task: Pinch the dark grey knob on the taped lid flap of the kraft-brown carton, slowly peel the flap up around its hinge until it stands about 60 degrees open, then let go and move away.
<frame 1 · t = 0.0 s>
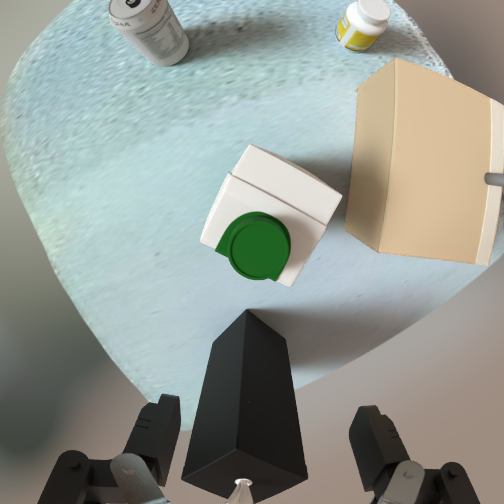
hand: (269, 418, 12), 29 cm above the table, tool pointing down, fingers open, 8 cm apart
milk carton: (264, 197, 38), on the table
energy drink can: (169, 50, 33), on the table
tall black box: (249, 340, 44), on the table
carton: (404, 166, 37), on the table
flap: (475, 168, 21), point 16 cm above the table, hinge at 0.0°
supplement bottle: (351, 38, 32), on the table
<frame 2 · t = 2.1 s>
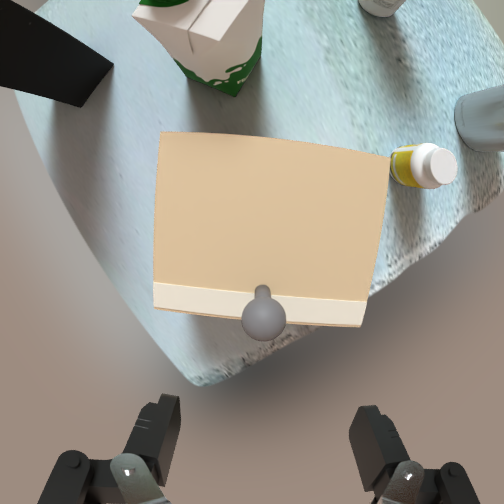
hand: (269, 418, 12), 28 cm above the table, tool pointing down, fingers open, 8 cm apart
milk carton: (223, 65, 32), on the table
energy drink can: (373, 4, 29), on the table
tall black box: (83, 75, 32), on the table
flap: (270, 243, 22), point 16 cm above the table, hinge at 0.0°
supplement bottle: (403, 165, 35), on the table
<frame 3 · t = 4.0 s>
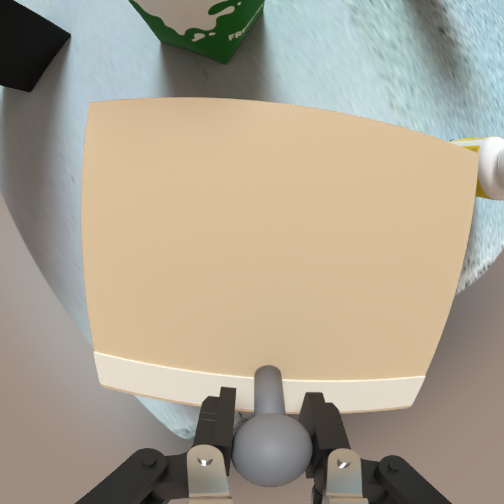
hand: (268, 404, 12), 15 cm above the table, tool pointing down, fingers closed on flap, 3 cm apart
milk carton: (211, 24, 21), on the table
tall black box: (36, 52, 21), on the table
flap: (288, 318, 10), point 16 cm above the table, hinge at 0.0°, touching gripper
supplement bottle: (453, 166, 24), on the table
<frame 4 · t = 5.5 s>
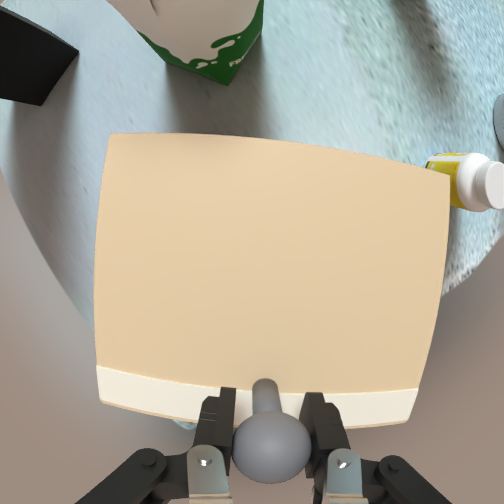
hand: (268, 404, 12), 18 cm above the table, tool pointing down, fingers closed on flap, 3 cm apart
milk carton: (213, 46, 24), on the table
tall black box: (45, 67, 23), on the table
flap: (283, 317, 12), point 17 cm above the table, hinge at 11.8°, touching gripper
supplement bottle: (438, 177, 27), on the table
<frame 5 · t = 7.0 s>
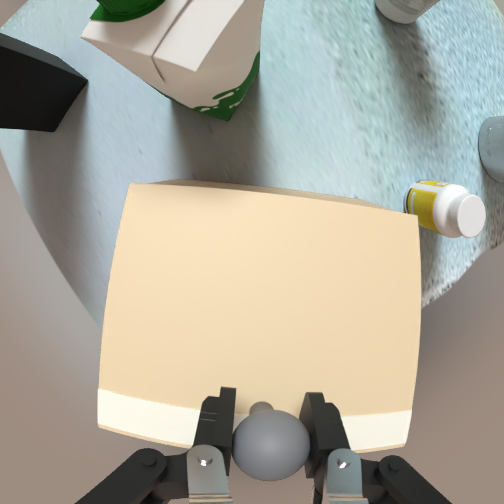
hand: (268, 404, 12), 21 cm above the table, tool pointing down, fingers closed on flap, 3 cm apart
milk carton: (214, 81, 28), on the table
energy drink can: (392, 8, 24), on the table
tall black box: (56, 93, 27), on the table
carton: (262, 260, 33), on the table
flap: (277, 326, 13), point 19 cm above the table, hinge at 30.1°, touching gripper
supplement bottle: (421, 201, 31), on the table
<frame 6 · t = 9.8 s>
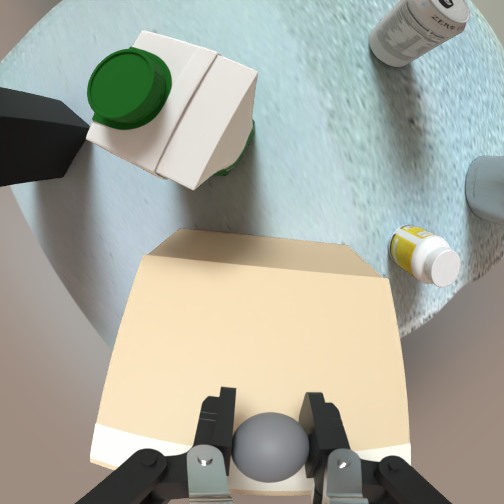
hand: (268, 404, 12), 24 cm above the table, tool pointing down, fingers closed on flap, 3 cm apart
milk carton: (212, 135, 32), on the table
energy drink can: (387, 49, 28), on the table
tall black box: (62, 138, 32), on the table
carton: (257, 299, 37), on the table
flap: (270, 354, 15), point 21 cm above the table, hinge at 55.3°, touching gripper
supplement bottle: (404, 243, 35), on the table
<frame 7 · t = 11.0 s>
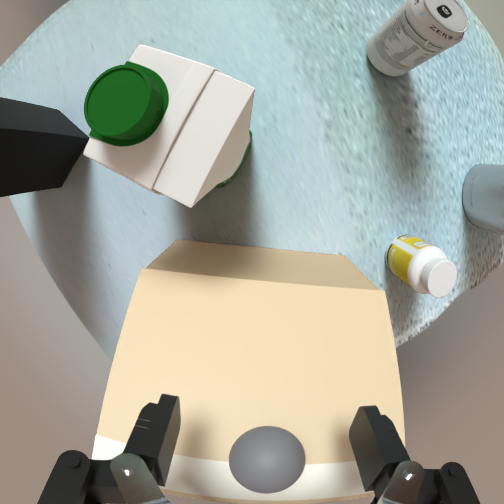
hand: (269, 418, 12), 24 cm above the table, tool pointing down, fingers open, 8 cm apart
milk carton: (210, 146, 32), on the table
energy drink can: (384, 57, 29), on the table
tall black box: (60, 147, 32), on the table
carton: (255, 309, 37), on the table
flap: (267, 369, 15), point 21 cm above the table, hinge at 55.7°
supplement bottle: (401, 253, 35), on the table
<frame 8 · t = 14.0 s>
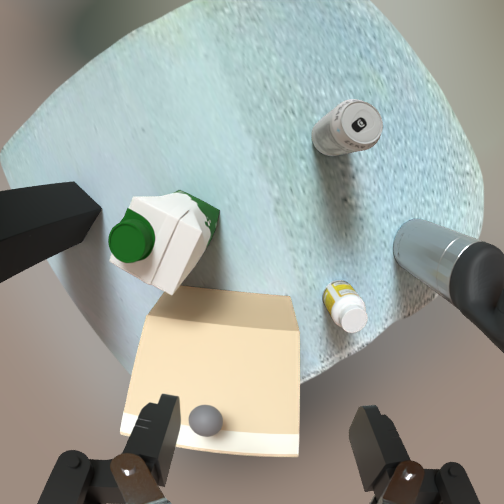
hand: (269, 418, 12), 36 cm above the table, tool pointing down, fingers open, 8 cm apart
milk carton: (190, 219, 46), on the table
energy drink can: (329, 137, 42), on the table
tall black box: (78, 211, 46), on the table
carton: (226, 332, 51), on the table
flap: (212, 377, 29), point 21 cm above the table, hinge at 55.7°
supplement bottle: (337, 293, 49), on the table
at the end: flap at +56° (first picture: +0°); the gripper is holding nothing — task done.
